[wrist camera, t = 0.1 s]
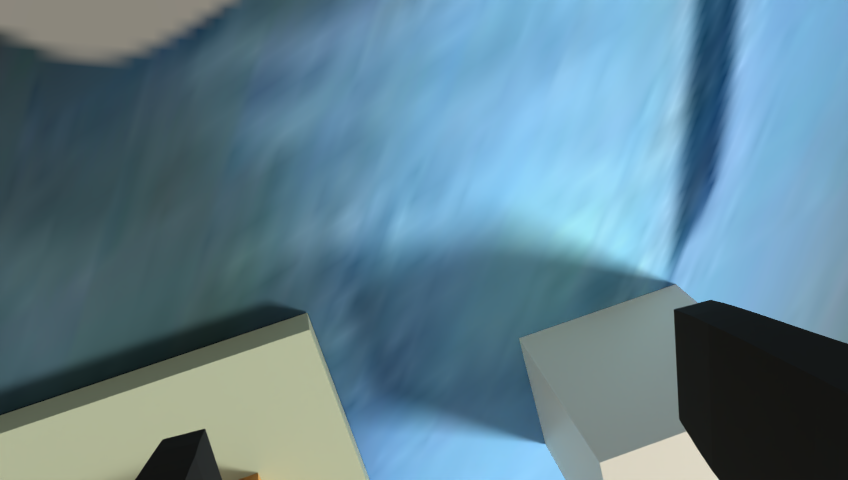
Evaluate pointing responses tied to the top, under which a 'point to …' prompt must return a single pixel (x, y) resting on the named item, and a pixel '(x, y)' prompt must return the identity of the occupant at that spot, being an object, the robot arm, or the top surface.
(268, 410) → the deck
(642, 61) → the top surface
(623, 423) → the chute block
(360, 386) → the top surface
